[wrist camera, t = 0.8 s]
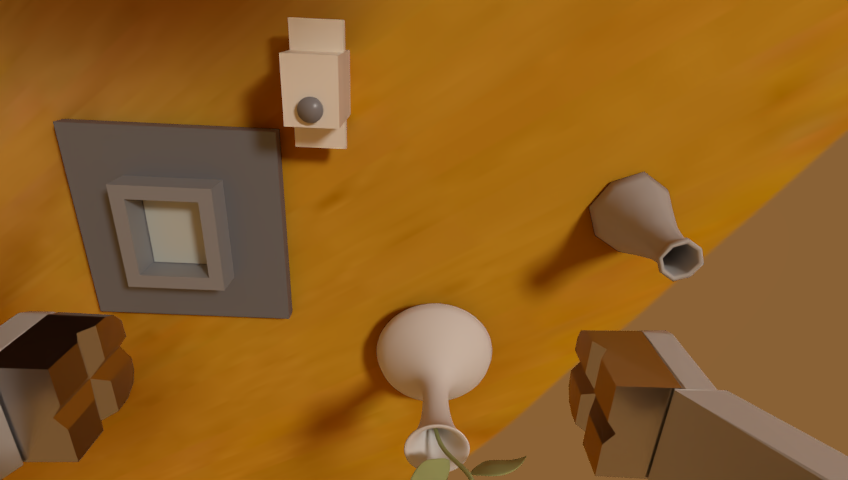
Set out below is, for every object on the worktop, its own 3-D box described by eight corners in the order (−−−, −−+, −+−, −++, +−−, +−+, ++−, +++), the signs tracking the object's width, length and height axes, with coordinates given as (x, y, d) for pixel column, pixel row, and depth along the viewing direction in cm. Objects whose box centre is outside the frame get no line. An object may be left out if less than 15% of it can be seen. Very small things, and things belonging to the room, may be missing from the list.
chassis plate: (62, 118, 42) (30, 127, 38) (279, 129, 42) (266, 138, 39) (108, 304, 49) (84, 325, 46) (292, 312, 49) (282, 333, 46)
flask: (612, 262, 47) (658, 320, 38) (574, 204, 45) (612, 252, 36) (684, 219, 45) (749, 270, 36) (647, 156, 43) (707, 194, 34)
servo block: (297, 17, 39) (274, 17, 33) (349, 19, 39) (335, 20, 33) (303, 138, 42) (284, 157, 37) (351, 140, 43) (339, 160, 37)
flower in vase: (380, 388, 53) (347, 666, 30) (374, 295, 49) (330, 541, 26) (503, 386, 53) (562, 665, 30) (509, 293, 48) (584, 539, 26)
